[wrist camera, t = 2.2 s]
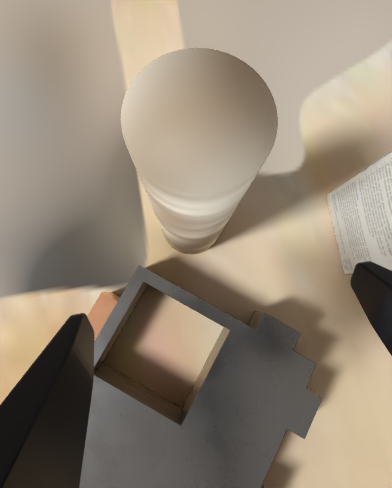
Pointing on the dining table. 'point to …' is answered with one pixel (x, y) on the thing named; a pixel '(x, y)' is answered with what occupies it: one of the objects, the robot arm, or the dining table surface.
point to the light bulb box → (364, 216)
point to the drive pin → (197, 139)
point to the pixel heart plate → (195, 403)
